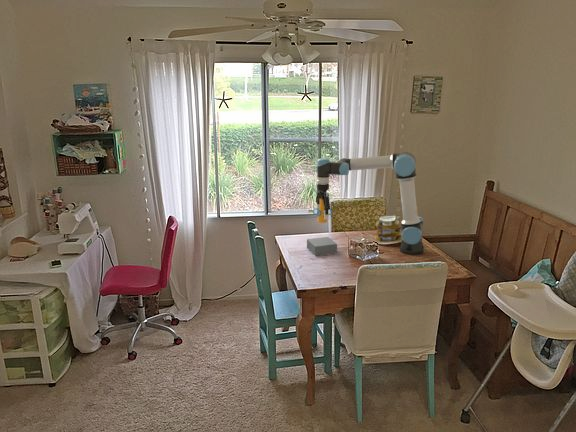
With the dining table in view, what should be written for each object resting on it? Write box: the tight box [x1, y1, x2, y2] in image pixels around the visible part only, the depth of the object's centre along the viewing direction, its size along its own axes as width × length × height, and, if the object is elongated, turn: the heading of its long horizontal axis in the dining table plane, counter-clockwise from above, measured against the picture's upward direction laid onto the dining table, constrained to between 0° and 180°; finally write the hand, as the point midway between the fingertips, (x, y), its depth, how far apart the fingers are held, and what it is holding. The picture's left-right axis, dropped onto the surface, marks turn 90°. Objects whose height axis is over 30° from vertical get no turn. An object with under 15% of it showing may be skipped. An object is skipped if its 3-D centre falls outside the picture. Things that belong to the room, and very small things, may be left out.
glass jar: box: [373, 215, 403, 245], centre depth 334 cm, size 25×25×17 cm
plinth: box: [306, 236, 338, 256], centre depth 318 cm, size 15×15×6 cm
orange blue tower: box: [312, 198, 333, 224], centre depth 312 cm, size 12×10×15 cm
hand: (322, 216), depth 313 cm, fingers closed on orange blue tower, 12 cm apart
